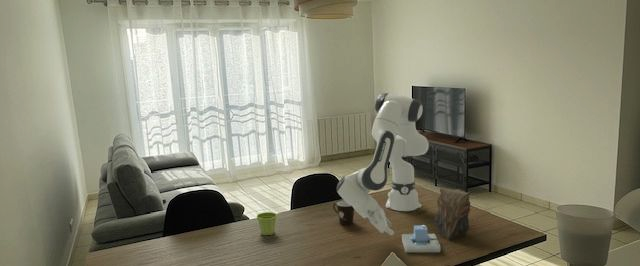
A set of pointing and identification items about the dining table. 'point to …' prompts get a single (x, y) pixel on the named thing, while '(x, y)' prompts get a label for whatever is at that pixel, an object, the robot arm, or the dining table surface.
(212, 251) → the dining table surface
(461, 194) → the brown tall rough block
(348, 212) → the coffee mug
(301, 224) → the dining table surface
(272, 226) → the plant pot
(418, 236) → the servo
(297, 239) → the dining table surface
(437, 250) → the chassis
